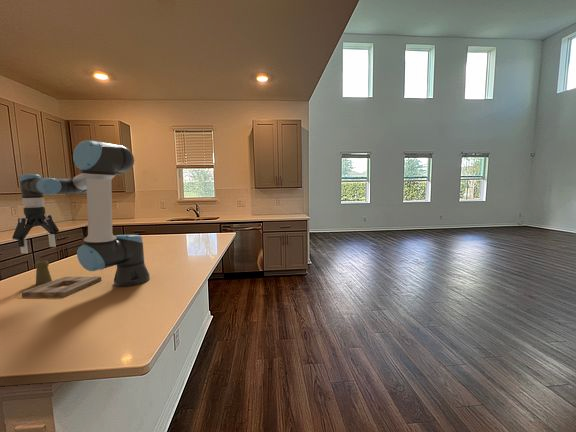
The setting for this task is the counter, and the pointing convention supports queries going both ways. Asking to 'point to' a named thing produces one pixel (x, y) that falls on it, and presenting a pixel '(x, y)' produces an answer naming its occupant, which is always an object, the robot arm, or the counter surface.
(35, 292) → the walnut board
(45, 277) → the olive tapered block
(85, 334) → the counter surface
